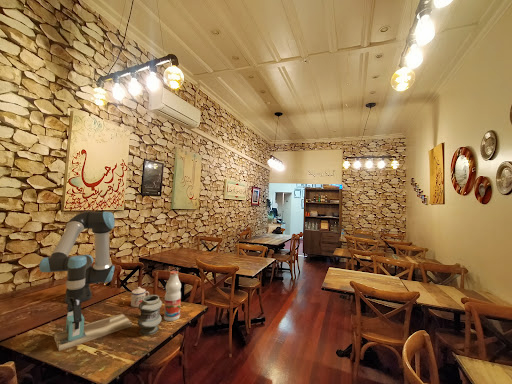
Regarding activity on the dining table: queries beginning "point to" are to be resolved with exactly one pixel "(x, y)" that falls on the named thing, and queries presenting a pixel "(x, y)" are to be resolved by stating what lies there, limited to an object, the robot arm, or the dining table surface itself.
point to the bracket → (70, 327)
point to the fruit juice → (172, 298)
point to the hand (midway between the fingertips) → (72, 329)
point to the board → (93, 331)
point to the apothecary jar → (149, 315)
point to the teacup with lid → (138, 296)
